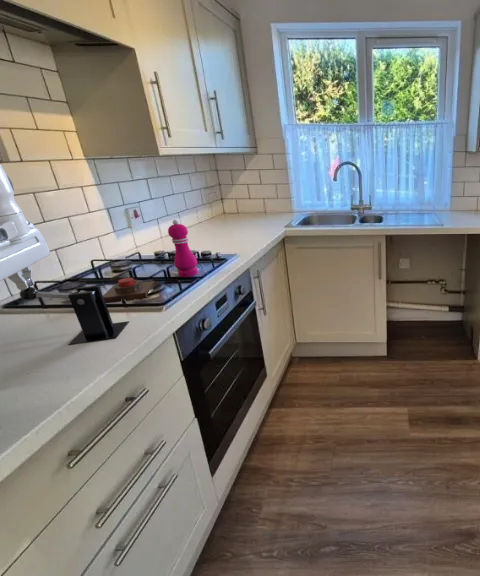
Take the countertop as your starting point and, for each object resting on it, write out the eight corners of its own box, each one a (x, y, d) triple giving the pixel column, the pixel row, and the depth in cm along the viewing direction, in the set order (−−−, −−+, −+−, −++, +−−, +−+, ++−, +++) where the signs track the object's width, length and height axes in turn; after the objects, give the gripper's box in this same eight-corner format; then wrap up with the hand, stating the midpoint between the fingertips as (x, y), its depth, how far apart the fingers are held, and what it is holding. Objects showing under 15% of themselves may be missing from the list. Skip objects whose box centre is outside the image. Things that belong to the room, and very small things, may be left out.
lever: (17, 302, 82) (15, 289, 81) (26, 297, 85) (23, 284, 84) (91, 305, 86) (89, 293, 85) (97, 300, 89) (95, 288, 88)
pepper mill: (191, 278, 128) (177, 222, 120) (173, 277, 129) (157, 222, 121) (203, 271, 134) (191, 217, 126) (186, 270, 135) (172, 217, 127)
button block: (102, 304, 109) (98, 292, 107) (115, 291, 118) (111, 280, 116) (146, 299, 112) (143, 287, 110) (156, 287, 121) (153, 276, 119)
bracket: (69, 348, 86) (48, 300, 81) (87, 330, 94) (69, 285, 89) (117, 342, 88) (99, 294, 83) (130, 325, 96) (115, 280, 91)
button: (117, 288, 111) (115, 283, 110) (122, 283, 115) (120, 278, 114) (132, 286, 112) (130, 281, 111) (136, 281, 116) (135, 276, 115)
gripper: (13, 219, 86) (37, 273, 91) (-57, 241, 68) (-22, 307, 73) (45, 217, 87) (66, 270, 93) (-16, 238, 69) (15, 303, 75)
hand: (27, 287), depth 83 cm, fingers closed, pressing on lever
